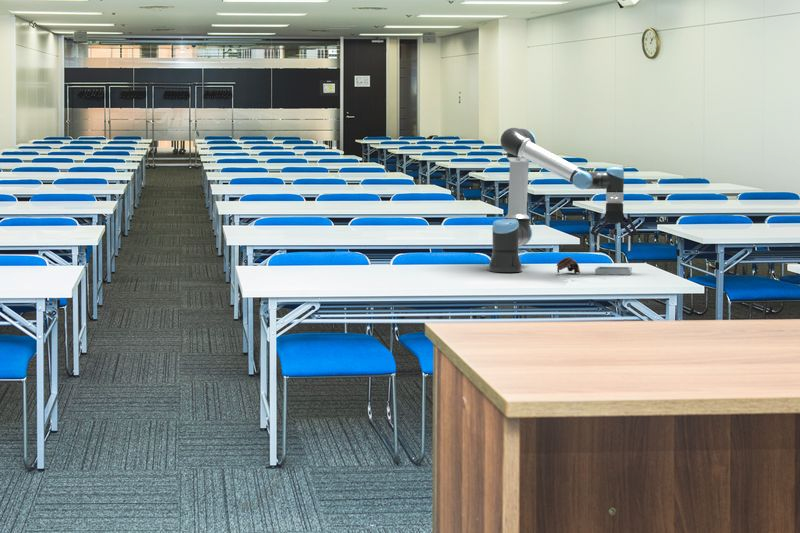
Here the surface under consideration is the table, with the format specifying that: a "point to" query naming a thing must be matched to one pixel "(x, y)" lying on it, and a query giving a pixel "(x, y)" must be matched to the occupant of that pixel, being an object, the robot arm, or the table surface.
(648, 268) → the table surface
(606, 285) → the table surface
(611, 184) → the robot arm
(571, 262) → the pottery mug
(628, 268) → the tray
